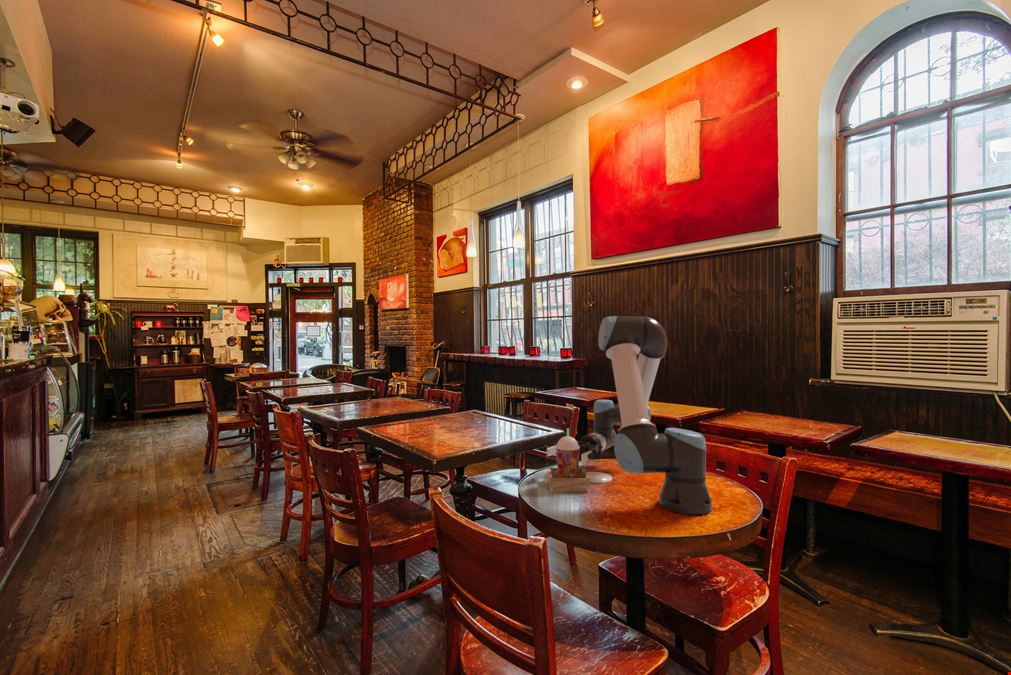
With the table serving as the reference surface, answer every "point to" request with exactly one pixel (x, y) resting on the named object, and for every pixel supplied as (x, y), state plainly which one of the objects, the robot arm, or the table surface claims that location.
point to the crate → (568, 482)
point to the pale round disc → (599, 477)
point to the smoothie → (567, 457)
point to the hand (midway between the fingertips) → (564, 455)
